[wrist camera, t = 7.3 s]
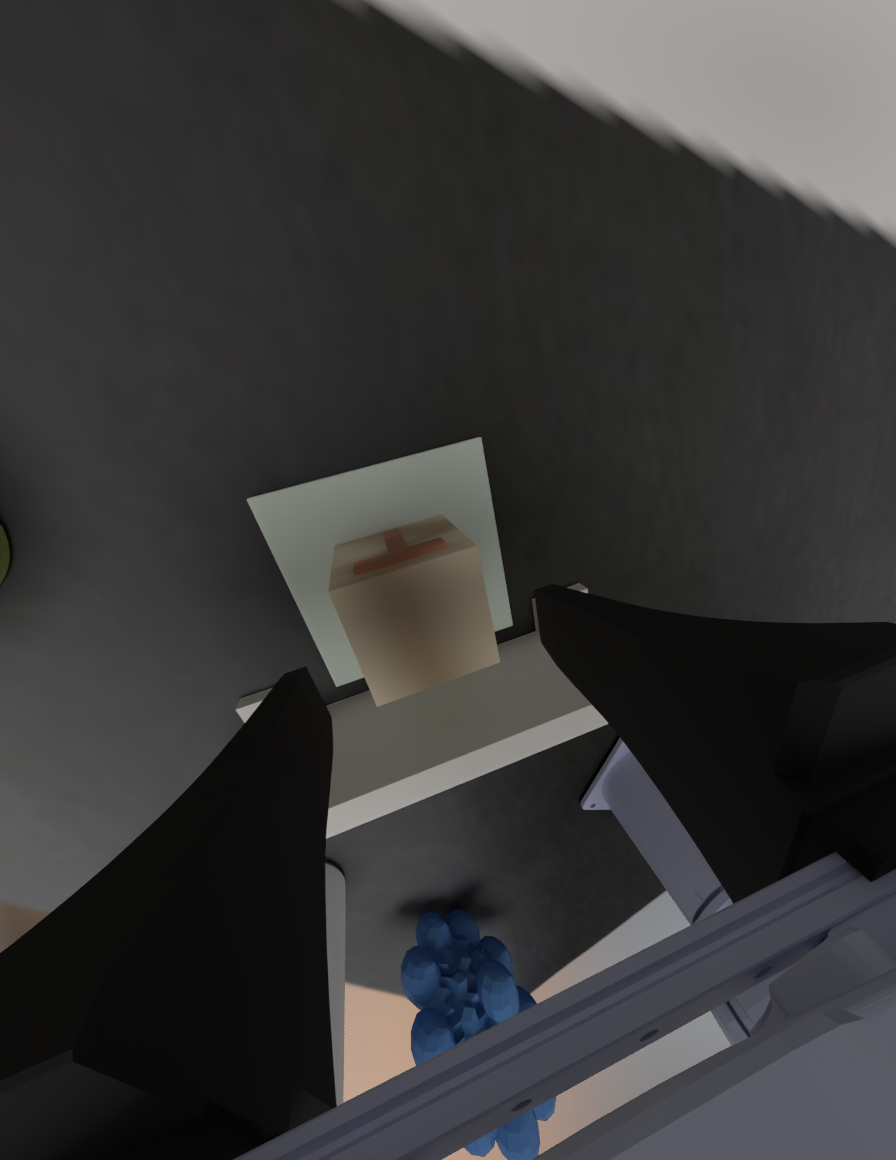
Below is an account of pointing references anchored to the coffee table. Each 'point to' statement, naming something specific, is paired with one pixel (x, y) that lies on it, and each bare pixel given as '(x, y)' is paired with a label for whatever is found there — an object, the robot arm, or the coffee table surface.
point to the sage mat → (377, 530)
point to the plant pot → (3, 554)
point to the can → (336, 968)
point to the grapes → (467, 1008)
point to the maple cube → (413, 607)
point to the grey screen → (447, 731)
